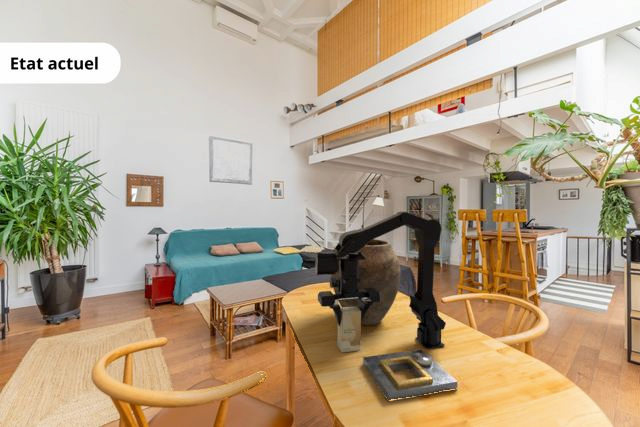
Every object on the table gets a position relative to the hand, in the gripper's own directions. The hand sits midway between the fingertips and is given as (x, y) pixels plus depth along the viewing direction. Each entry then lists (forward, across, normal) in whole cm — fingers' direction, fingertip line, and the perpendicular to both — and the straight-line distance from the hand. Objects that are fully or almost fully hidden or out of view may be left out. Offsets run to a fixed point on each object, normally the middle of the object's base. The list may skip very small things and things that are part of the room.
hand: (349, 324), depth 85 cm
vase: (+8, -13, -19) cm, 24 cm away
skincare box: (+8, 0, 0) cm, 8 cm away
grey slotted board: (+8, -10, +16) cm, 21 cm away
